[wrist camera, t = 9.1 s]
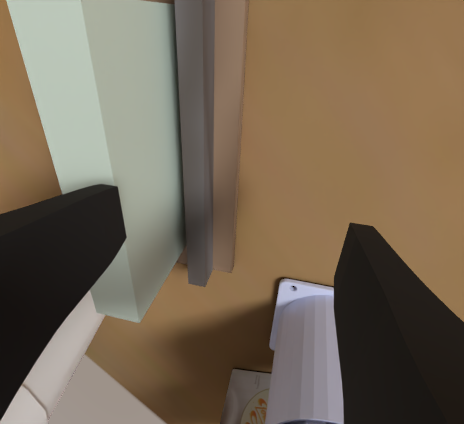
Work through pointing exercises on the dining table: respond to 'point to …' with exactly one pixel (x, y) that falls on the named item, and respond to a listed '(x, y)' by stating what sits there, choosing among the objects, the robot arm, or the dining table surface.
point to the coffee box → (246, 398)
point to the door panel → (113, 126)
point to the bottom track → (210, 127)
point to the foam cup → (55, 366)
